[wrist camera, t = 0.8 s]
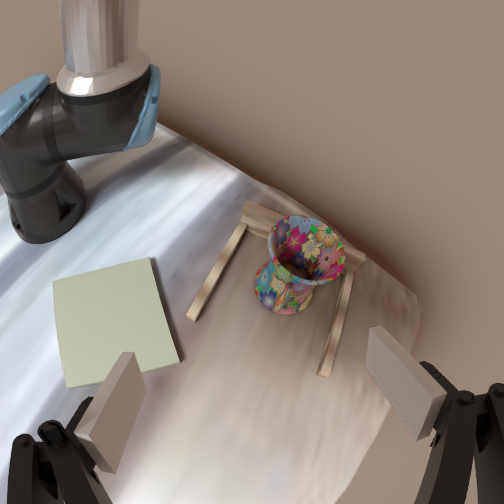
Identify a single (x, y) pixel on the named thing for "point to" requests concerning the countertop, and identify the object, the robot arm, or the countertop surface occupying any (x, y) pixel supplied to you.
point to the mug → (298, 263)
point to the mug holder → (261, 224)
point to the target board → (110, 322)
